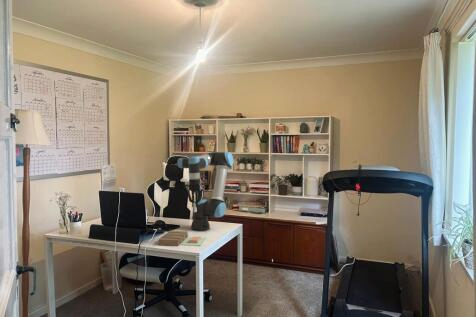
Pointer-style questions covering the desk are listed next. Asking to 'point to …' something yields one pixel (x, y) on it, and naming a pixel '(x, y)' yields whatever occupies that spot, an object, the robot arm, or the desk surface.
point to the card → (194, 239)
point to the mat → (193, 243)
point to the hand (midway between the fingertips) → (195, 211)
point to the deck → (173, 238)
